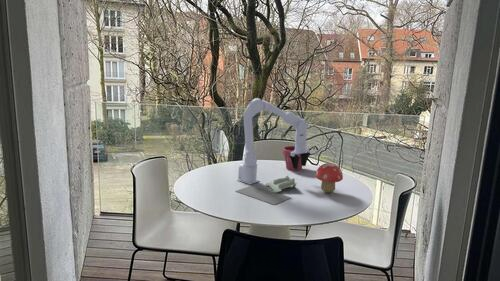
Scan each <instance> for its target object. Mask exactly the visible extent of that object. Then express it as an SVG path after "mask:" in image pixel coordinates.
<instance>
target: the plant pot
mask: <svg viewBox="0 0 500 281" xmlns="http://www.w3.org/2000/svg"><path fill="white" fill-rule="evenodd" d="M294 150H295V145H288V146H287V145H286V146H284V147H283V148H282V154H283V155H284V162H285V168H286V170H288V171H293V172H299V171H301V170H302V169H303V166H302V165H301V156H300V154H299V155H297V156H298V157H300V159H299V162H298V168H297V169H294V168H293V164H292V161H291V158H290V155H291V152H292V151H294Z"/></svg>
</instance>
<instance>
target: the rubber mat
mask: <svg viewBox="0 0 500 281" xmlns="http://www.w3.org/2000/svg"><path fill="white" fill-rule="evenodd" d="M272 191H273V190H269V189H266V188H264V187H263V188H262V187H259V186H256V185H254V184H253V185H252V184H251V185H250V186H246V187H244V188H239V189H237V190H235V192H236V193H238V192H239V194H242V195H244V196H247V197H250V198H253V199H256V200H259V201H261V202H264V203H266V204H270V205H273V206H275V205H278V204H280V203H283V202H285V201H288V200H290V199H292V197H291V196H287V195H286V194H285V195H284V194H282V193H280V192H277V193H274V192H272Z"/></svg>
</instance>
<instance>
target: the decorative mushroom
mask: <svg viewBox="0 0 500 281" xmlns="http://www.w3.org/2000/svg"><path fill="white" fill-rule="evenodd" d="M315 178H316V179H317V180H319V181H321V183H320V184H321V185H320V189H321V190H322V191H323V192H324V193H327V194H330V193H332V192H334V191H335V190H336V183H339V182H341V181H343V179H344V175H343V171H342V169H341V168H340V166H338V165H336V164H334V163H331V162H328V163H323V164H322V165H319V167H318V168H317V169H316V171H315Z"/></svg>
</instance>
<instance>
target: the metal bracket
mask: <svg viewBox="0 0 500 281" xmlns="http://www.w3.org/2000/svg"><path fill="white" fill-rule="evenodd" d="M297 185H298V183H297V181H296V180H295V178H291V177H290V176H288V175H287V176H285V177H281V178H280V177H279V178H277V179H274V180H273V181H269V182H266V184H265V187H269V188H271V191H272V192H274V193H280V192H282V190H283V189H286V188H287V189H288V188H290V187H293V188H294V189H297V188H296V186H297Z"/></svg>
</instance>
